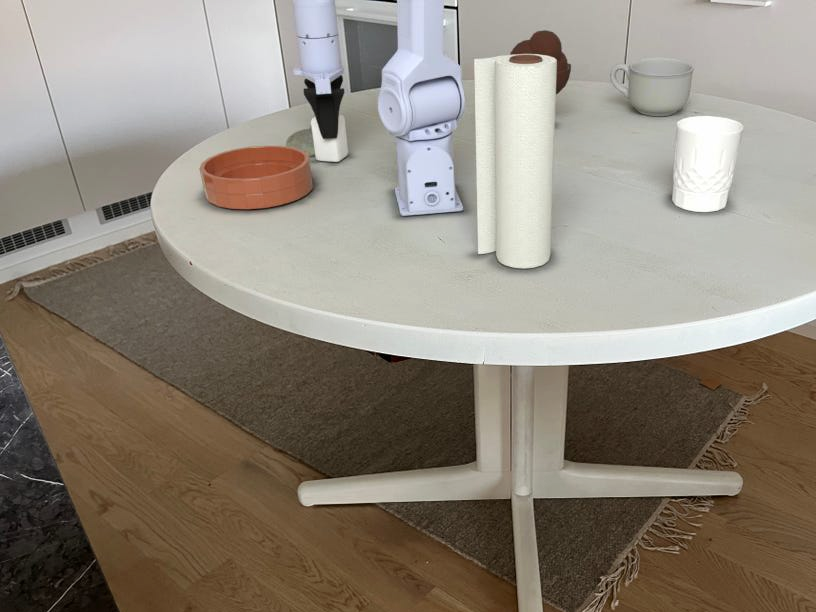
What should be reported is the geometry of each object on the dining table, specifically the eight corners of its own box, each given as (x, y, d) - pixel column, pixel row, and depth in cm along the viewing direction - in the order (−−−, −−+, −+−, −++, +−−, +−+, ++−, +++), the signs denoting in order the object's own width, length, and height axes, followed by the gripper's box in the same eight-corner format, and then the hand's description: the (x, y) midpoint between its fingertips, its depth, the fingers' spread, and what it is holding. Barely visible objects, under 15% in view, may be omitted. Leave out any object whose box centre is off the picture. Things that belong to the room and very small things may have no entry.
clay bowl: (313, 206, 103) (308, 175, 101) (200, 215, 101) (193, 183, 99) (313, 171, 115) (309, 142, 112) (212, 178, 113) (206, 149, 110)
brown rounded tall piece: (568, 116, 136) (572, 23, 128) (568, 135, 127) (572, 36, 119) (507, 115, 137) (507, 23, 129) (502, 134, 128) (502, 36, 120)
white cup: (685, 217, 97) (696, 136, 92) (657, 195, 104) (665, 119, 98) (742, 210, 99) (756, 130, 94) (711, 189, 105) (722, 113, 100)
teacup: (697, 108, 139) (703, 61, 135) (675, 124, 131) (680, 74, 127) (623, 99, 145) (627, 53, 141) (598, 113, 138) (601, 65, 133)
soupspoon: (283, 161, 121) (326, 162, 121) (280, 139, 119) (324, 141, 119) (307, 116, 139) (344, 117, 139) (305, 96, 137) (343, 98, 137)
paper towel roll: (561, 258, 88) (570, 57, 77) (523, 275, 85) (526, 67, 73) (515, 240, 93) (516, 47, 81) (477, 255, 89) (473, 56, 78)
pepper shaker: (350, 155, 120) (343, 91, 115) (339, 163, 117) (331, 98, 112) (326, 153, 121) (317, 89, 116) (314, 161, 118) (305, 96, 113)
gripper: (289, 27, 115) (302, 121, 123) (286, 46, 103) (301, 149, 110) (338, 24, 116) (348, 117, 123) (341, 43, 104) (352, 145, 111)
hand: (329, 132), depth 117 cm, fingers closed on pepper shaker, 5 cm apart
